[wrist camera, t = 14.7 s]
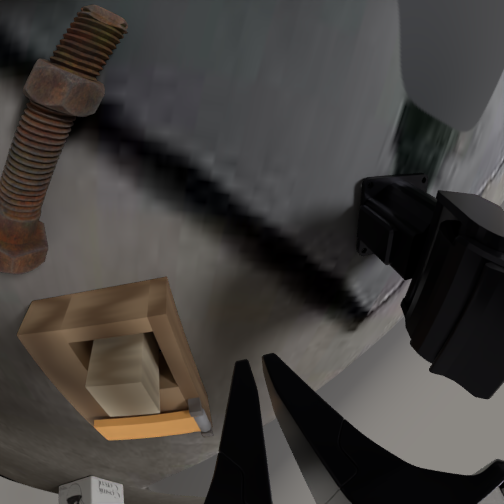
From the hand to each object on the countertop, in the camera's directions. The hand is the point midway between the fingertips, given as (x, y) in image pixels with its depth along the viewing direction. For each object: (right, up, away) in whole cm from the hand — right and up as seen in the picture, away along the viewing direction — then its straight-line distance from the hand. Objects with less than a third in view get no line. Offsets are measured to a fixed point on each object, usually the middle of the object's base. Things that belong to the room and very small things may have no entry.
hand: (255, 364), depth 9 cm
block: (-11, -6, +15) cm, 20 cm away
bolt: (-12, +11, +5) cm, 17 cm away
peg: (-10, -3, +13) cm, 17 cm away
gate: (-9, -12, +14) cm, 20 cm away
